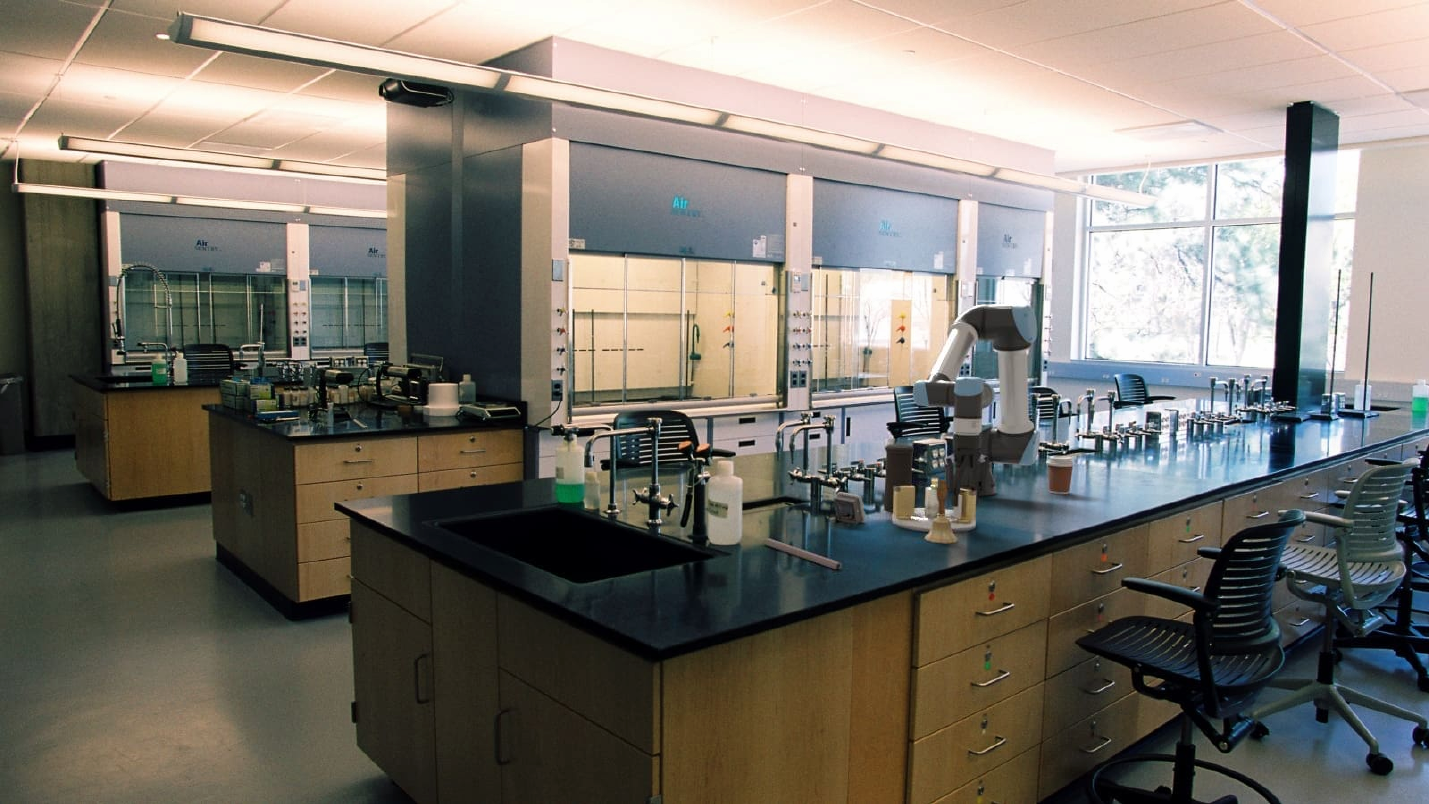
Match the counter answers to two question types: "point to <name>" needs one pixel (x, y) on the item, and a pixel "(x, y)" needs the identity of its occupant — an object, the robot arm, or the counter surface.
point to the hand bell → (941, 520)
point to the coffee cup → (1060, 474)
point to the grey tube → (803, 554)
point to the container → (897, 470)
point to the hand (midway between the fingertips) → (964, 517)
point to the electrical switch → (849, 508)
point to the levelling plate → (928, 522)
